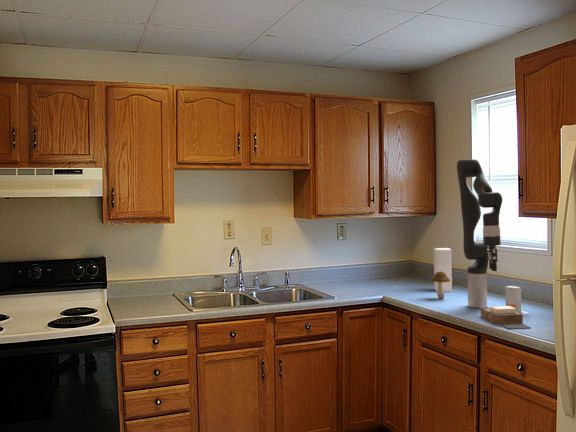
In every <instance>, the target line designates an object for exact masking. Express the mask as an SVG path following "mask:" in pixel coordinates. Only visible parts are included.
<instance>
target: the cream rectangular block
mask: <svg viewBox="0 0 576 432" xmlns="http://www.w3.org/2000/svg"><path fill="white" fill-rule="evenodd" d="M489 308H490V309H491V311H492V312H494V313H496V314H504V313H516V308H513V307H511V306H506V305H500V306H496V305H495V306H490V307H489Z"/></svg>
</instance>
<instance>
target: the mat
mask: <svg viewBox="0 0 576 432" xmlns="http://www.w3.org/2000/svg"><path fill="white" fill-rule="evenodd" d="M498 325H500V327H502V328H505V329H507V330H520V329H525V330H526V329H531V327H530V326H528V325H526V324H525V323H503V324H498Z"/></svg>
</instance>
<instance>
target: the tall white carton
mask: <svg viewBox="0 0 576 432" xmlns="http://www.w3.org/2000/svg"><path fill="white" fill-rule="evenodd" d="M452 266H453V265H452V249H451V248H449V247H434V248H433V276H435V274H436V273H437V272H444V273H445V274H446V275H447V277H448V278H449V279H450V281H449V282H442V289H443V292H445V293H448V292H451V293H452V292H453V273H452V272H453V271H452V269H453V268H452ZM433 288H434V290H435V292H437V290H438V282H434V281H433Z"/></svg>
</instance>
